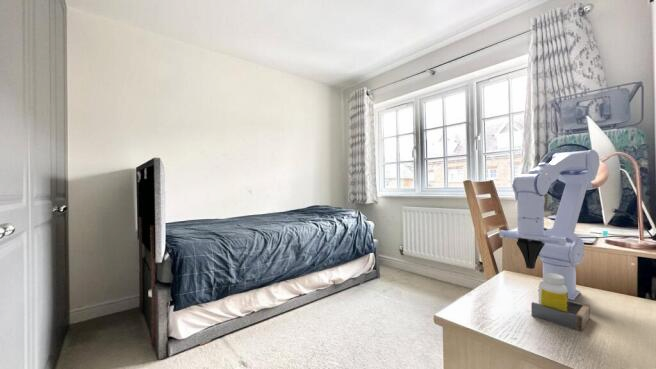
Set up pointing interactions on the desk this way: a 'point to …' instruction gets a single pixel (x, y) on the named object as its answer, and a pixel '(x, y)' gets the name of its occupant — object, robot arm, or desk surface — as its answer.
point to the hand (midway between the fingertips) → (530, 267)
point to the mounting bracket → (564, 314)
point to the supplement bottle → (553, 291)
